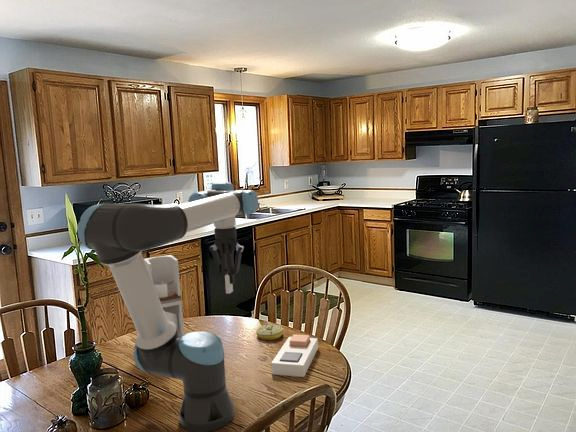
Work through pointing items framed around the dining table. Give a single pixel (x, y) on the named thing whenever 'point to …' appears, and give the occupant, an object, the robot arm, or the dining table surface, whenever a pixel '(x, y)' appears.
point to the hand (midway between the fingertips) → (229, 292)
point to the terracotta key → (300, 340)
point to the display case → (167, 287)
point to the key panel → (295, 367)
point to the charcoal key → (291, 357)
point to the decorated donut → (269, 332)
